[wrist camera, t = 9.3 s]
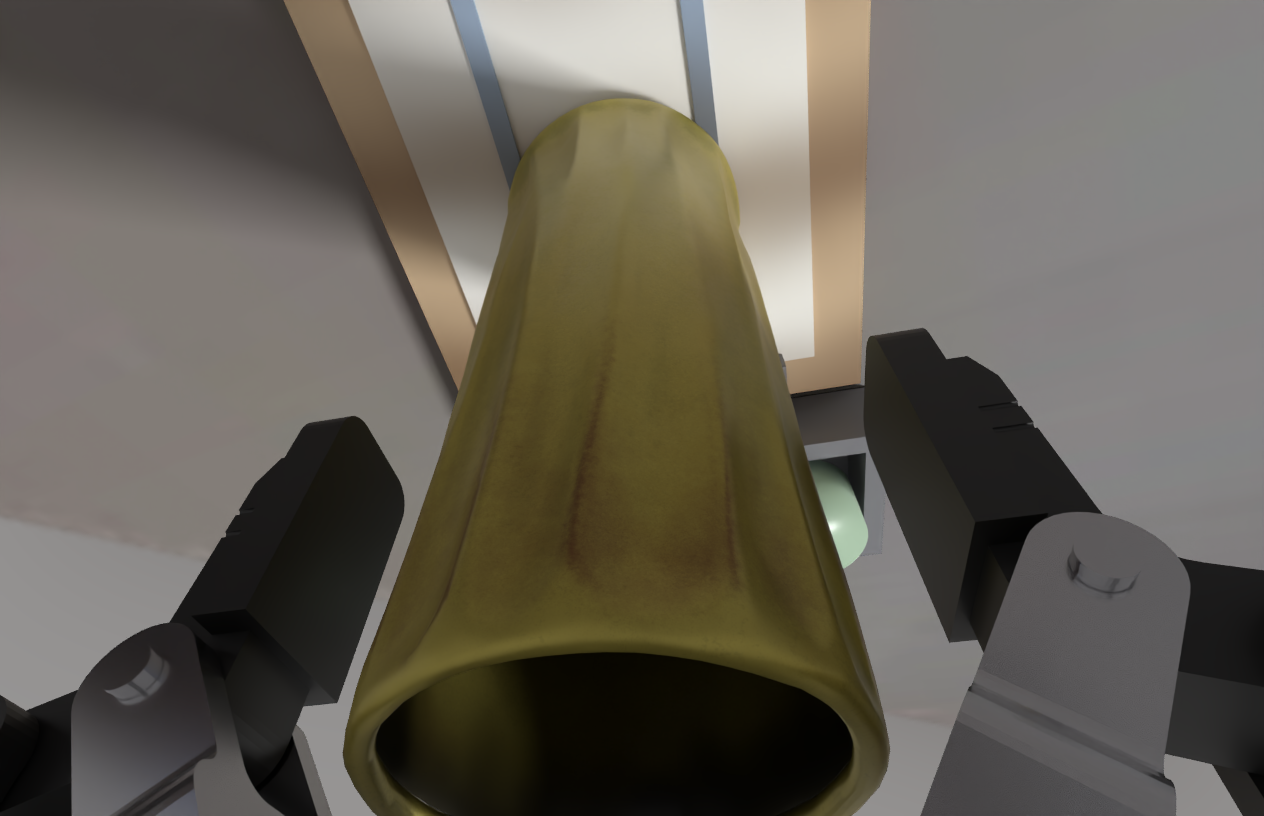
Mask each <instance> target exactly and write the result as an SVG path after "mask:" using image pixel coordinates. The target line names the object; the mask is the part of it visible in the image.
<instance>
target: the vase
mask: <svg viewBox="0 0 1264 816" xmlns="http://www.w3.org/2000/svg"><path fill="white" fill-rule="evenodd" d="M739 226H740V208H739V199H738V193H737V188H736V184H735V180H734V177H733V174H732V171H731V168H730V166H729V164H728V161H727V159H726V157H725V155H724V154H723V152H722V150H721V149H720V147H719V146H718V145H717V143H716V142H715V141H714V140H713V138H712V137H711V136H710V135H709V134H708V133H707V132H706V131H705V130H704V129H702V128H701V127H700V126H699V125H697V124H696V123H695V122H694V121H692V120H691V119H689V118H688V117H686V116H685V115H683V114H682V113H680V112H678V111H676V110H674V109H672V108H670V107H667V106H665V105H662V104H659V103H656V102H652V101H648V100H643V99H631V98H614V99H604V100H599V101H595V102H591V103H588V104H585V105H582V106H579V107H577V108H575V109H573V110H571V111H569V112H567V113H566V114H564V115H562V116H560V117H559V118H558V119H556V120H555V121H553V122H552V123H551V124H549V125H548V126H547V127H546V128H545V129H544V130H543V131H542V132H540V133H539V135H538V136H537V137H536V138H535V139H534V140H533V141H532V143H531V144H530V145H529V147H528V148H527V150H526V151H525V153H524V155H523V156H522V158H521V160H520V162H519V164H518V167H517V169H516V172H515V175H514V178H513V182H512V185H511V189H510V193H509V197H508V215H507V219H506V223H505V227H504V231H503V235H502V239H501V243H500V248H499V252H498V255H497V258H496V261H495V265H494V268H493V271H492V275H491V278H490V281H489V285H488V288H487V291H486V295H485V298H484V302H483V305H482V308H481V312H480V315H479V319H478V322H477V326H476V329H475V332H474V336H473V340H472V343H471V347H470V351H469V355H468V359H467V363H466V367H465V371H464V375H463V378H462V381H461V385H460V388H459V391H458V395H457V398H456V401H455V404H454V407H453V410H452V414H451V417H450V421H449V424H448V428H447V431H446V435H445V439H444V442H443V446H442V450H441V453H440V457H439V460H438V463H437V465H436V468H435V471H434V474H433V477H432V480H431V483H430V486H429V489H428V492H427V495H426V497H425V500H424V503H423V506H422V509H421V512H420V515H419V518H418V521H417V524H416V527H415V529H414V532H413V535H412V538H411V541H410V544H409V547H408V549H407V552H406V555H405V558H404V561H403V563H402V566H401V569H400V572H399V574H398V577H397V580H396V582H395V585H394V588H393V591H392V593H391V596H390V599H389V601H388V604H387V607H386V610H385V612H384V614H383V617H382V620H381V622H380V625H379V627H378V630H377V633H376V636H375V638H374V641H373V643H372V645H371V648H370V650H369V653H368V656H367V658H366V661H365V663H364V666H363V669H362V672H361V675H360V678H359V681H358V685H357V688H356V691H355V695H354V699H353V703H352V707H351V711H350V715H349V719H348V723H347V727H346V732H345V741H344V748H343V758H344V765H345V768H346V770H347V772H348V774H349V776H350V778H351V780H352V782H353V785H354V787H355V788H356V790H357V791H358V793H359V794H360V795H361V797H362V798H363V800H364V801H365V802H366V804H367V805H368V806H369V807H370V809H371V810H372V812H373V813H375V814H376V815H377V816H852V815H853V814H854V813H856V812H857V811H858V810H859V809H860V808H861V807H862V806H863V805H864V804H865V802H866V801H867V800H868V799H869V798H870V797H871V796H872V795H873V794H874V792H875V791H876V790H877V789H878V788H879V787H880V784H881V782H882V780H883V777H884V775H885V773H886V771H887V767H888V762H889V754H890V746H889V738H888V733H887V728H886V723H885V719H884V714H883V710H882V706H881V702H880V698H879V693H878V689H877V685H876V681H875V677H874V674H873V670H872V667H871V663H870V659H869V656H868V652H867V649H866V645H865V641H864V638H863V634H862V630H861V627H860V623H859V620H858V616H857V613H856V610H855V606H854V603H853V599H852V596H851V593H850V589H849V586H848V583H847V580H846V576H845V573H844V570H843V567H842V564H841V561H840V558H839V554H838V551H837V548H836V545H835V542H834V540H833V537H832V534H831V531H830V528H829V525H828V522H827V519H826V516H825V513H824V510H823V507H822V504H821V501H820V497H819V494H818V491H817V488H816V485H815V481H814V478H813V475H812V471H811V468H810V465H809V461H808V458H807V455H806V451H805V448H804V444H803V441H802V438H801V434H800V430H799V425H798V421H797V417H796V414H795V410H794V406H793V403H792V399H791V396H790V392H789V389H788V385H787V382H786V379H785V375H784V372H783V368H782V365H781V361H780V357H779V354H778V350H777V346H776V343H775V339H774V335H773V332H772V328H771V325H770V321H769V318H768V315H767V312H766V308H765V304H764V301H763V297H762V293H761V290H760V287H759V283H758V280H757V277H756V274H755V271H754V268H753V265H752V262H751V259H750V256H749V254H748V252H747V250H746V248H745V245H744V243H743V241H742V239H741V236H740V234H739Z"/></svg>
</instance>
